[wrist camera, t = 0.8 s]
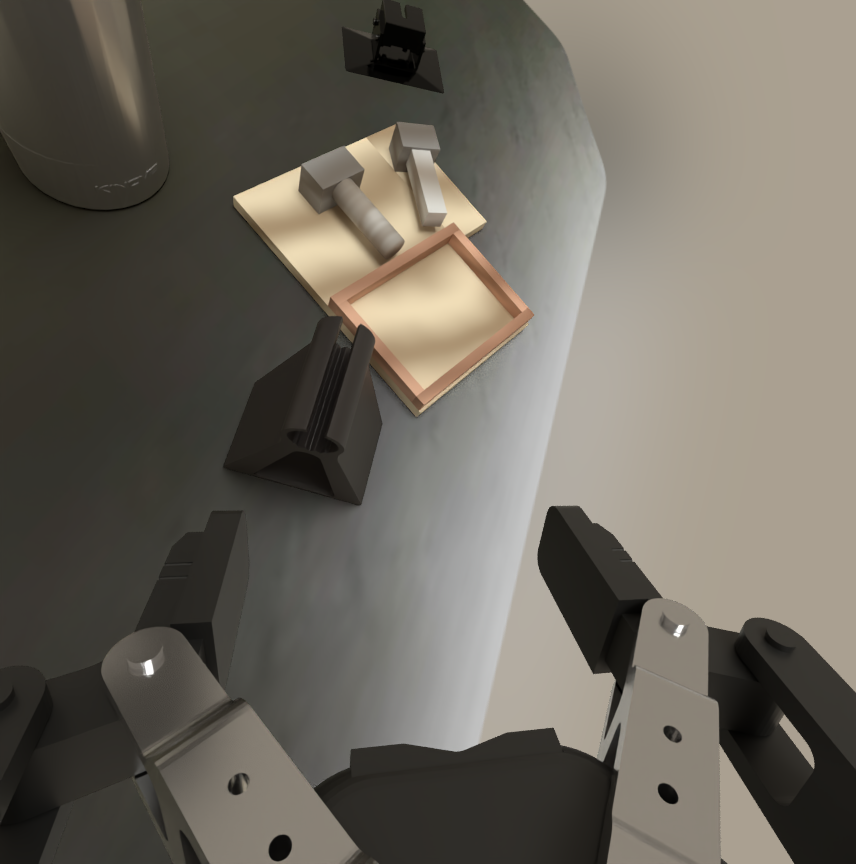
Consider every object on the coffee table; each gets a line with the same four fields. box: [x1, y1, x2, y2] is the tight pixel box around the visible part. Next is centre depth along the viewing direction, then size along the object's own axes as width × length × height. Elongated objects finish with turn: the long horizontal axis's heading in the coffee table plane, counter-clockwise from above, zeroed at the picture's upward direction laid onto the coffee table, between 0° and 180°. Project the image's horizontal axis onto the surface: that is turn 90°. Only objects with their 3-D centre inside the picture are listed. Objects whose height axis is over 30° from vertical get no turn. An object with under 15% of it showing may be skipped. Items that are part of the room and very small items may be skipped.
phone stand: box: [224, 316, 382, 505], centre depth 28 cm, size 9×6×12 cm, turn 77°
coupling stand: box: [233, 122, 534, 417], centre depth 39 cm, size 21×17×4 cm
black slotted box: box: [342, 0, 444, 93], centre depth 46 cm, size 12×7×5 cm, turn 97°
